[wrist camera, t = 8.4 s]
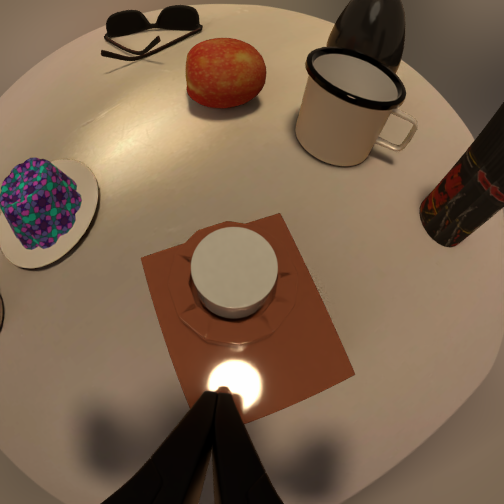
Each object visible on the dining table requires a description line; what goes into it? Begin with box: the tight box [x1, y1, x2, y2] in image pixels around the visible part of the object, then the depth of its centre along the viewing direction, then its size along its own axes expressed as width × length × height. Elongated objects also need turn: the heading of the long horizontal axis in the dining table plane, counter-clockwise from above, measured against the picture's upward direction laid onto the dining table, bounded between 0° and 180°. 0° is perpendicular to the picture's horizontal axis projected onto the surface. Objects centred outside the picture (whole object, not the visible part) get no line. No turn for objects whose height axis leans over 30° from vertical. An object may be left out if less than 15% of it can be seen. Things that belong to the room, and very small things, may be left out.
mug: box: [295, 47, 417, 166], centre depth 27 cm, size 12×10×9 cm
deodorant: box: [420, 102, 504, 247], centre depth 21 cm, size 6×6×15 cm
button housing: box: [141, 213, 355, 424], centre depth 20 cm, size 12×10×6 cm
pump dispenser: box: [327, 0, 405, 74], centre depth 30 cm, size 10×10×15 cm
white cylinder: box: [191, 227, 278, 319], centre depth 17 cm, size 4×4×2 cm
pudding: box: [0, 158, 98, 268], centre depth 23 cm, size 12×12×5 cm
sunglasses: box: [101, 5, 203, 61], centre depth 35 cm, size 17×14×5 cm
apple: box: [186, 38, 266, 108], centre depth 29 cm, size 8×8×8 cm
